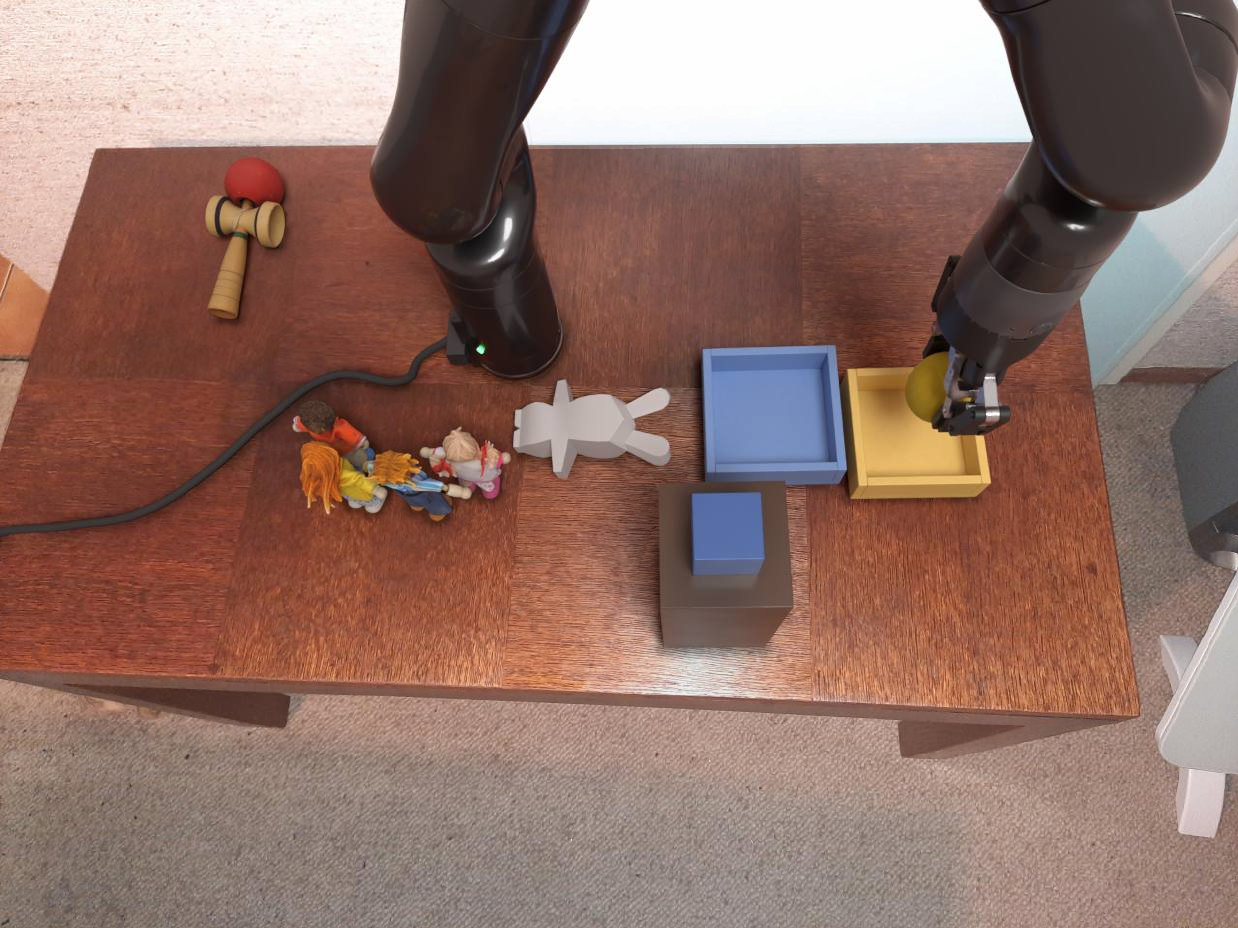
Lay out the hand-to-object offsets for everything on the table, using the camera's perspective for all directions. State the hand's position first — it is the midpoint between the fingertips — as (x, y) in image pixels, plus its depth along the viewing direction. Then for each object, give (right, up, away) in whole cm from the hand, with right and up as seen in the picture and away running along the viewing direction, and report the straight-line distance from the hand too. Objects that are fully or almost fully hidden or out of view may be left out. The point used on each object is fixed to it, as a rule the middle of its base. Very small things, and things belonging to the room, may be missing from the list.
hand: (939, 391), depth 71 cm
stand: (-18, -18, +7) cm, 27 cm away
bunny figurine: (-29, -4, +13) cm, 32 cm away
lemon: (0, -1, +4) cm, 4 cm away
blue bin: (-12, -2, +12) cm, 17 cm away
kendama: (-67, +17, +23) cm, 73 cm away
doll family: (-47, -10, +12) cm, 50 cm away
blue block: (-19, -12, -12) cm, 26 cm away
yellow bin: (+1, -4, +11) cm, 11 cm away
